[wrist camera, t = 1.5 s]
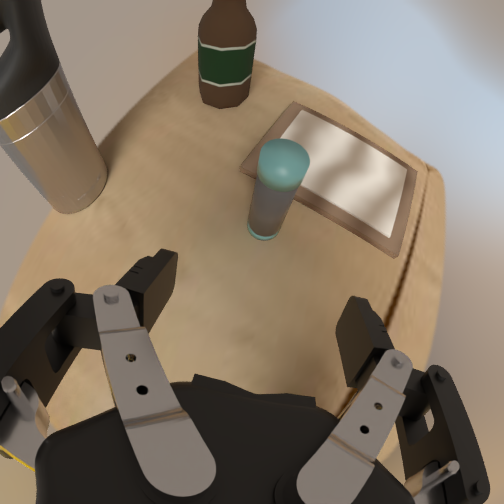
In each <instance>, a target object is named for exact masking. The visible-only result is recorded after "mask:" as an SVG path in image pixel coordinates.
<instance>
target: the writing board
mask: <svg viewBox="0 0 504 504" xmlns="http://www.w3.org/2000/svg"><path fill="white" fill-rule="evenodd" d="M279 138H282V139H289V140H292V141H294V142H296V143H298V144H300V145H301V146H302V147H303V148H304V149H305V150H306V151H307V153H308V155H309V158H310V165H309V168H308V170H307V172H306V174H305V177H304V179H303V181H302V183H301V185H300V186H299V187H298V189H297V192H296V194H295V196H294V198H293V199H294V200H296V201H298V202H300V203H302V204H304V205H305V206H307V207H309V208H311V209H313V210H314V211H316V212H318V213H320V214H321V215H323V216H325V217H327V218H328V219H330V220H332V221H334V222H335V223H337V224H339V225H340V226H342V227H344V228H345V229H347V230H349V231H351V232H352V233H354V234H356V235H357V236H359V237H360V238H362V239H364V240H365V241H367V242H369V243H370V244H372V245H373V246H375V247H377V248H378V249H380V250H381V251H383V252H385V253H386V254H388V255H389V256H391V257H392V258H396V257H398V256H399V252H400V249H401V245H402V241H403V238H404V234H405V230H406V226H407V221H408V217H409V213H410V208H411V203H412V199H413V194H414V188H415V183H416V177H417V171H416V170H415V169H413V168H412V167H410V166H409V165H407V164H406V163H404V162H403V161H401V160H400V159H398V158H397V157H395V156H394V155H392V154H391V153H389V152H388V151H386V150H384V149H383V148H381V147H380V146H378V145H376V144H375V143H373V142H371V141H370V140H368V139H366V138H365V137H363V136H361V135H359V134H358V133H356V132H354V131H352V130H351V129H349V128H347V127H345V126H343V125H341V124H340V123H338V122H336V121H334V120H332V119H330V118H328V117H326V116H324V115H322V114H320V113H318V112H316V111H314V110H312V109H310V108H307V107H305V106H303V105H301V104H299V103H297V102H294V101H293V102H292V103H291V104H290V106H289V107H288V108H287V109H286V110H285V111H284V113H283V114H282V115H281V116H280V117H279V119H278V120H277V121H276V122H275V123H274V125H273V126H272V127H271V128H270V129H269V131H268V132H267V133H266V134H265V135H264V137H263V138H262V139H261V140H260V142H259V143H258V144H257V145H256V147H255V148H254V149H253V150H252V152H251V153H250V154H249V155H248V157H247V158H246V159H245V161H244V162H243V163H242V164H241V166H240V172H242V173H244V174H246V175H248V176H250V177H252V178H254V179H256V177H257V166H258V161H259V156H260V151H261V148H262V146H263V145H264V144H265V143H266V142H268V141H270V140H273V139H279Z"/></svg>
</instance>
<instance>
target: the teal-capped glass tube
mask: <svg viewBox="0 0 504 504" xmlns="http://www.w3.org/2000/svg"><path fill="white" fill-rule="evenodd" d="M309 165H310V158H309V155H308V153H307V151H306V150H305V149H304V148H303V147H302V146H301V145H300V144H298V143H296V142H294V141H292V140H289V139H282V138H279V139H273V140H270V141H268V142H266V143H265V144H264V145H263V146H262V148H261V151H260V156H259V161H258V166H257V177H256V182H255V187H254V192H253V197H252V202H251V208H250V213H249V218H248V223H247V227H248V230H249V232H250V234H251V235H252V236H253V237H255V238H256V239H259V240H270V239H272V238H274V237H275V236H276V235H277V234H278V232H279V230H280V227H281V225H282V223H283V221H284V218H285V216H286V214H287V212H288V210H289V207H290V205H291V203H292V201H293V198H294V196H295V194H296V192H297V189H298V187H299V186H300V185H301V183H302V181H303V179H304V177H305V174H306V172H307V170H308V168H309Z"/></svg>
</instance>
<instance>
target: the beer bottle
mask: <svg viewBox="0 0 504 504" xmlns="http://www.w3.org/2000/svg"><path fill="white" fill-rule="evenodd" d="M256 32H257V28H256V25H255V21H254V18H253V17H252V15H251V14H250V12H249V11H248V9H247V7H246V0H213V2H212V6H211V7H210V8H209V9H208V10H207V11H206V13H205V14H204V15H203V17H202V19H201V21H200V23H199V29H198V67H199V88H200V93H201V97H202V100H203V102H204V103H205V104H208V105H210V106H213V107H216V108H219V109H222V108H229V107H237V106H238V105H239V104H240V103H241V102H243V101H244V100H245V99H246V98H247V96H248V93H249V88H250V81H251V74H252V66H253V59H254V52H255V44H256Z"/></svg>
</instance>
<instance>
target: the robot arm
mask: <svg viewBox="0 0 504 504" xmlns="http://www.w3.org/2000/svg"><path fill="white" fill-rule="evenodd" d="M5 29H9V32H10V42H9V44H8V46H7V47H6V49H5V51H4V53H3V54H2V56H1V57H0V146H1V147H2V148H3V149H4V151H5V152H6V153H7V154H8V156H9V157H10V158H11V160H12V161H13V162H14V163H15V164H16V166H17V167H18V168H19V169H20V171H21V172H22V173H23V174H24V175H25V176H26V178H27V179H28V180H29V181H30V182H31V183H32V185H33V186H34V187H35V188H36V189H37V190H38V191H39V193H40V194H41V195H42V196H43V197H44V198H45V199H46V200H47V201H48V202H49V204H50V205H51V206H52V207H53V208H54V209H55V210H57V211H58V212H60V213H65V214H70V213H75V212H78V211H80V210H82V209H84V208H86V207H87V206H88V205H90V204H91V203H92V202H93V201H94V200H95V199H96V198H97V197H98V196H99V194H100V193H101V191H102V190H103V187H104V185H105V183H106V179H107V167H106V165H105V163H104V161H103V159H102V157H101V155H100V153H99V151H98V149H97V146H96V144H95V142H94V140H93V138H92V136H91V134H90V132H89V129H88V127H87V125H86V123H85V121H84V119H83V116H82V114H81V112H80V110H79V107H78V105H77V103H76V100H75V98H74V96H73V93H72V91H71V89H70V86H69V84H68V82H67V79H66V77H65V74H64V71H63V69H62V66H61V63H60V61H59V58H58V56H57V53H56V51H55V48H54V45H53V43H52V40H51V37H50V34H49V31H48V28H47V24H46V21H45V18H44V13H43V9H42V4H41V0H0V33H1V32H3V31H4V30H5ZM177 261H178V253H177V252H174V251H170V250H166V249H160V250H159V251H158V252H157V254H156V255H155V256H154V257H150V256H147V257H144V258H142V259H140V260H138V261H137V262H136V263H135V265H134V266H133V267H132V268H131V269H130V270H129V271H128V272H127V273H126V274H125V275H124V276H123V277H122V278H121V279H120V280H119V281H118V282H117V283H116V284H115V285H105V286H102V287H100V288H98V289H97V290H96V291H95V292H94V294H93V295H92V294H82V293H75V288H74V285H73V283H72V282H71V281H69V280H67V279H60V278H59V279H53V280H50V281H48V282H46V283H45V284H44V285H43V286H42V287H41V288H40V289H38V290H37V291H36V292H35V293H34V294H33V295H32V296H31V297H30V298H29V299H28V300H27V301H26V302H25V303H24V304H23V305H22V306H21V307H20V308H19V309H18V310H17V311H16V312H15V313H14V314H13V315H12V316H11V317H10V318H9V319H8V321H7V322H6V323H5V324H4V325H3V326H2V327H1V328H0V454H1V455H2V456H3V457H5V458H9V459H15V460H17V461H18V462H20V463H21V464H23V465H24V466H26V467H27V468H29V469H30V470H32V471H33V472H35V475H36V486H37V493H36V494H37V495H36V504H483V503H484V502H485V501H486V500H487V499H488V497H489V494H490V484H489V480H488V476H487V472H486V468H485V465H484V461H483V458H482V455H481V452H480V449H479V445H478V443H477V439H476V437H475V434H474V431H473V428H472V426H471V423H470V420H469V418H468V415H467V412H466V410H465V407H464V405H463V403H462V400H461V398H460V396H459V394H458V391H457V389H456V386H455V384H454V382H453V380H452V377H451V376H450V374H449V373H448V372H447V371H446V370H445V369H444V368H443V367H441V366H438V365H431V366H430V367H429V368H428V370H427V371H426V372H422V371H419V370H416V369H413V365H412V362H411V360H410V359H409V357H408V356H407V355H405V354H404V353H402V352H401V351H398V350H395V348H394V346H393V344H392V342H391V339H390V337H389V335H388V333H387V330H386V328H385V327H384V324H383V322H382V320H381V318H380V317H379V316H378V315H377V314H376V312H375V311H373V310H372V308H371V306H370V304H369V302H368V300H367V299H365V298H360V297H356V296H351V297H350V298H349V300H348V302H347V304H346V306H345V308H344V310H343V313H342V315H341V317H340V319H339V321H338V323H337V326H336V338H337V342H338V347H339V351H340V355H341V360H342V364H343V369H344V374H345V379H346V384H347V387H353V388H358V391H357V392H356V394H355V395H354V396H353V398H352V399H351V400H350V402H349V403H348V405H347V406H346V407H345V409H344V410H343V411H342V413H341V414H340V415H339V417H338V418H337V417H335V416H334V415H332V414H331V413H329V412H328V411H326V410H324V409H322V408H319V407H317V406H316V402H315V397H309V396H302V395H295V394H288V393H284V394H254V393H251V392H249V391H246V390H244V389H242V388H239V387H237V386H235V385H232V384H230V383H228V382H226V381H222V380H218V379H214V378H210V377H206V376H202V375H198V374H194V377H193V380H192V382H173V383H169V381H168V379H167V377H166V375H165V373H164V370H163V368H162V366H161V364H160V361H159V359H158V357H157V354H156V352H155V349H154V347H153V345H152V342H151V340H150V337H149V335H148V334H149V332H150V330H151V329H152V327H153V325H154V324H155V322H156V320H157V318H158V317H159V315H160V313H161V312H162V310H163V308H164V307H165V305H166V303H167V302H168V300H169V298H170V297H171V295H172V292H173V289H174V285H175V278H176V269H177ZM82 348H87V349H95V350H101V355H102V359H103V364H104V368H105V372H106V376H107V380H108V384H109V388H110V391H111V395H112V399H113V402H114V406H115V407H114V408H112V409H110V410H107V411H105V412H103V413H100V414H98V415H96V416H93V417H91V418H89V419H86V420H84V421H81V422H79V423H77V424H74V425H72V426H69V427H66V428H64V429H61V430H59V431H56V432H54V433H53V434H51V435H50V436H48V437H47V429H48V426H49V422H50V420H49V414H48V412H47V410H46V406H47V404H48V403H49V401H50V399H51V397H52V396H53V394H54V392H55V390H56V389H57V387H58V385H59V384H60V382H61V380H62V379H63V377H64V375H65V374H66V372H67V371H68V369H69V367H70V366H71V364H72V363H73V361H74V359H75V358H76V356H77V355H78V353H79V352H80V350H81V349H82ZM430 409H431V411H432V414H433V417H434V425H433V428H432V429H431V431H430V432H429V431H428V428H427V424H426V420H425V417H424V415H425V414H426V413H427V412H428V411H429V410H430ZM394 422H395V424H396V429H397V434H398V439H399V444H400V449H401V455H402V460H403V466H404V473H405V480H406V482H405V484H404V486H403V485H402V484H401V483H400V482H399V481H398V480H397V479H396V478H395V477H394V476H393V475H392V474H391V473H390V472H389V471H388V470H387V469H386V468H385V467H384V466H383V465H382V464H381V463H380V462H379V461H378V460H377V459H376V457H377V456H378V454H379V452H380V450H381V448H382V446H383V444H384V443H385V441H386V439H387V437H388V435H389V433H390V431H391V429H392V427H393V425H394Z"/></svg>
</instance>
